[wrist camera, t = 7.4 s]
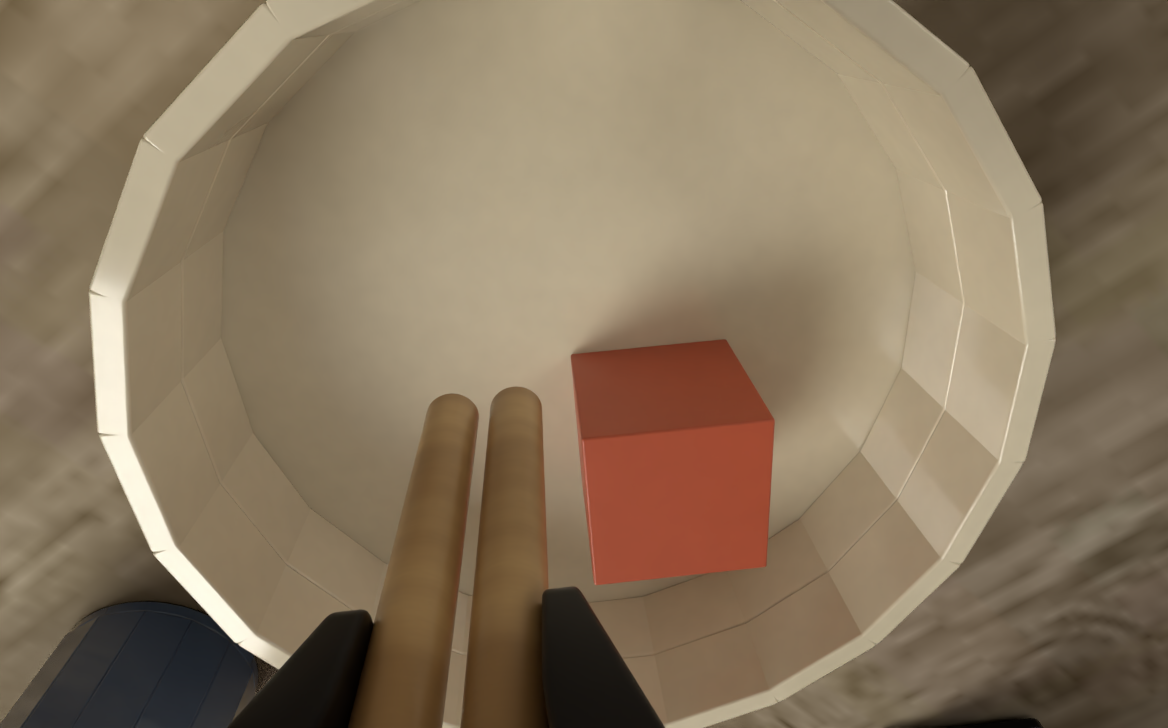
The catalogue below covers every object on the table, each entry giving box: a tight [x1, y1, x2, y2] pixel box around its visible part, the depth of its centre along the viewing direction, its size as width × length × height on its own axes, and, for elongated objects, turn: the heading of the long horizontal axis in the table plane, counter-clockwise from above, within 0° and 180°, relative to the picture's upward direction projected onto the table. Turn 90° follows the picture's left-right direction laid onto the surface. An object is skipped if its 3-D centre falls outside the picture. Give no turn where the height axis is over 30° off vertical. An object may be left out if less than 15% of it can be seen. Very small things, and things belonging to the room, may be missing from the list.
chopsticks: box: [348, 386, 549, 728], centre depth 7 cm, size 1×2×11 cm, turn 95°
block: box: [571, 339, 775, 585], centre depth 17 cm, size 4×4×4 cm
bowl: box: [89, 0, 1056, 728], centre depth 16 cm, size 18×18×5 cm
